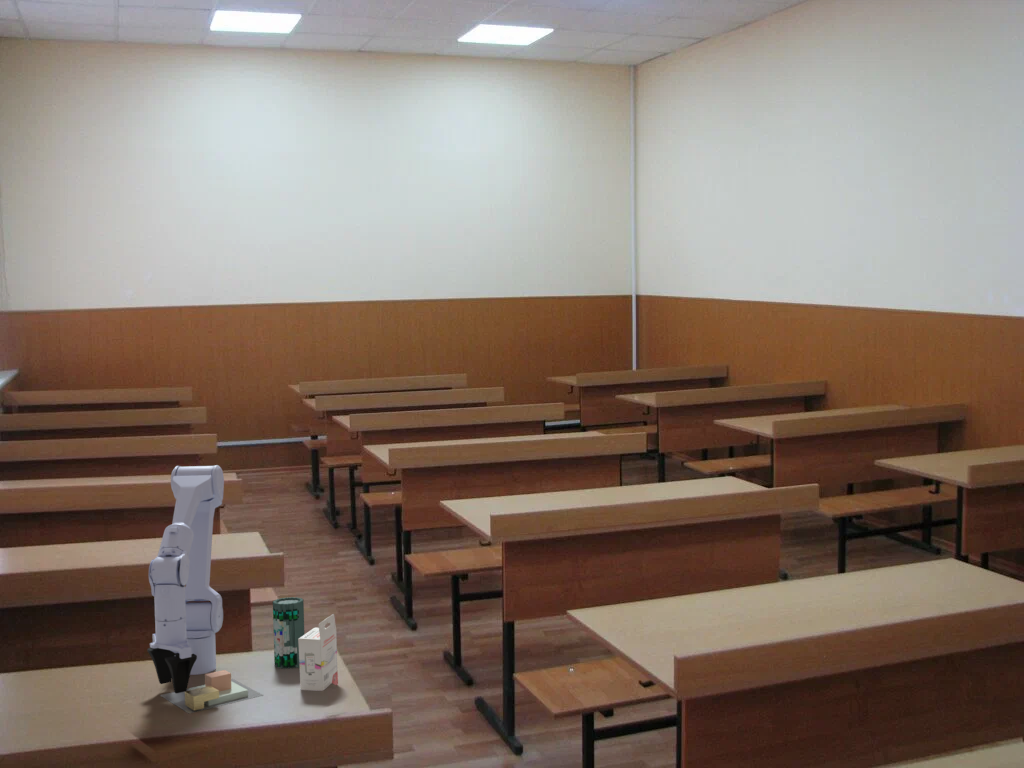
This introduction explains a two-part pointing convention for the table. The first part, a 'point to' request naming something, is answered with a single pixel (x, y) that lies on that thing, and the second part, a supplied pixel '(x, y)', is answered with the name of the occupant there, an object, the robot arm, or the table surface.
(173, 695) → the flat gray mat
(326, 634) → the ink cartridge box
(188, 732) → the table surface
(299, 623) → the can
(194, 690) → the yellow stepped block
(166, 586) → the robot arm
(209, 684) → the pink rectangular block
